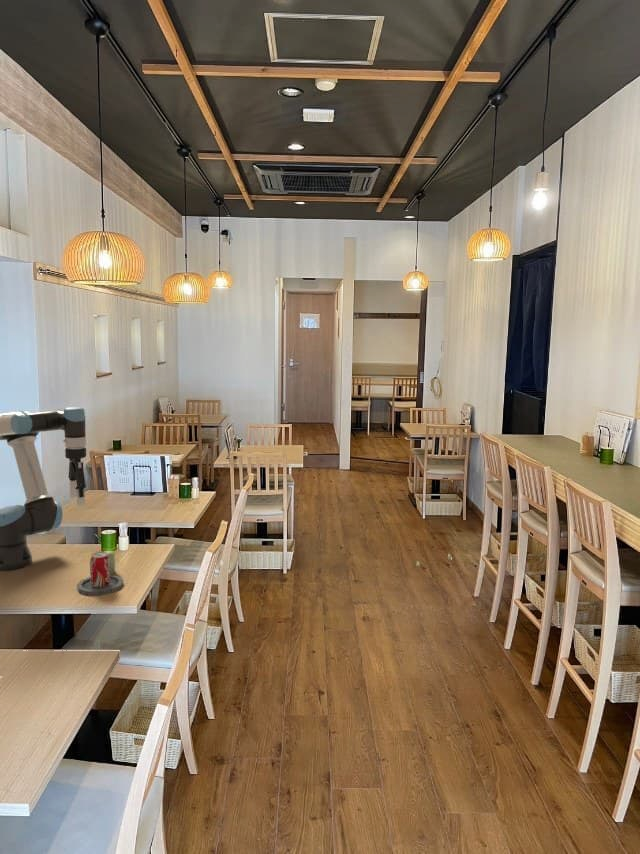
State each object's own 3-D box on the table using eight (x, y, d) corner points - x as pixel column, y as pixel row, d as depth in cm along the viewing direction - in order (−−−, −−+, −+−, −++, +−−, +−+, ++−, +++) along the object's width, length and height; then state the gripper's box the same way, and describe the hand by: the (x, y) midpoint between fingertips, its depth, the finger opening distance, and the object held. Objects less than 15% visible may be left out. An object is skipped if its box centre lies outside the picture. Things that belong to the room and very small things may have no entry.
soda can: (103, 589, 226) (102, 558, 224) (86, 587, 227) (85, 556, 225) (114, 582, 232) (113, 552, 231) (97, 580, 234) (96, 550, 232)
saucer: (73, 583, 233) (73, 579, 232) (116, 575, 241) (116, 571, 241) (82, 598, 219) (82, 594, 219) (127, 589, 228) (127, 586, 227)
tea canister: (100, 571, 245) (99, 552, 244) (113, 568, 248) (112, 550, 246) (103, 575, 241) (102, 555, 240) (116, 572, 243) (115, 553, 242)
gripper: (59, 443, 243) (61, 494, 246) (71, 453, 222) (73, 509, 225) (79, 441, 247) (81, 492, 250) (92, 452, 226) (94, 507, 229)
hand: (77, 500), depth 238 cm, fingers open, 13 cm apart
